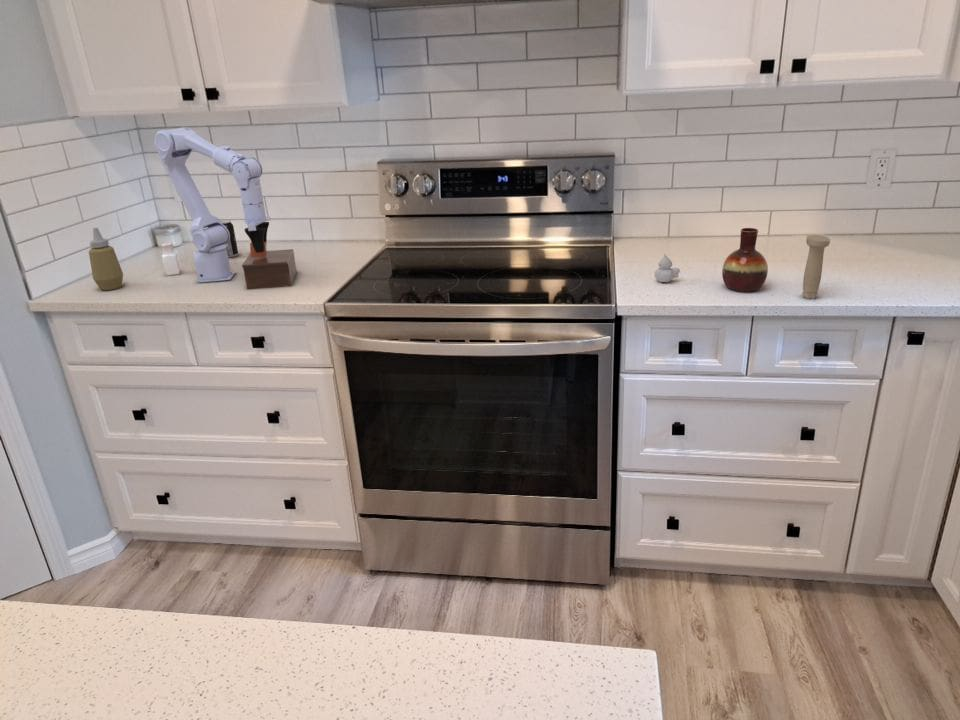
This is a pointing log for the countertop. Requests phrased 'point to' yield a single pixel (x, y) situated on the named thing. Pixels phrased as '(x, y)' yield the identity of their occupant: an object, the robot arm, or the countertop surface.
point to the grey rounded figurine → (666, 270)
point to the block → (258, 254)
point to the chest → (270, 275)
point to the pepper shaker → (170, 259)
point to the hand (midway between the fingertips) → (261, 250)
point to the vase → (745, 265)
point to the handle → (814, 264)
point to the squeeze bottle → (104, 263)
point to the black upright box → (231, 239)
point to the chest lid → (269, 258)
